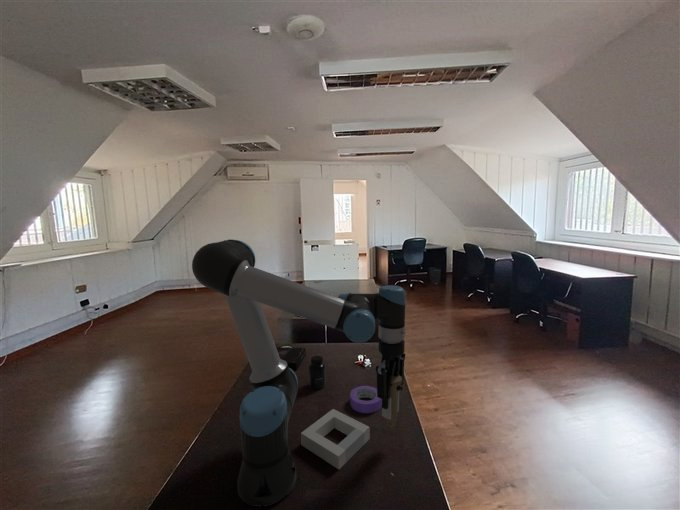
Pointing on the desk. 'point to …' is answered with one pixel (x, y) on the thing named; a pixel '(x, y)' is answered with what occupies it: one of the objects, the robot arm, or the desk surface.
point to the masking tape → (365, 405)
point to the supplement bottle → (317, 373)
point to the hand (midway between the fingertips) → (390, 413)
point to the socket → (326, 448)
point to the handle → (393, 401)
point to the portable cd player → (292, 356)
